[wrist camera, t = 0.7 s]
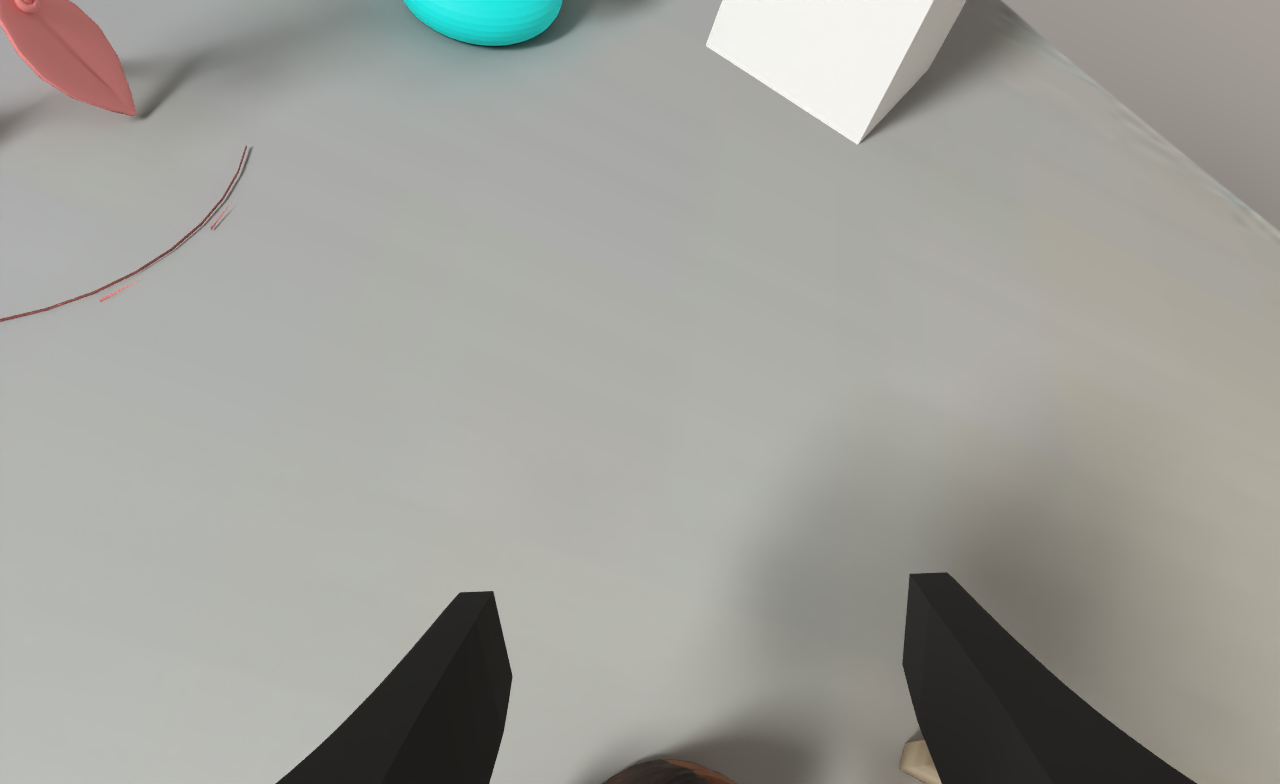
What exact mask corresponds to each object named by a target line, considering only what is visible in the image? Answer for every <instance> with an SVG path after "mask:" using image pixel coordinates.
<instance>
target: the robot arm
mask: <svg viewBox="0 0 1280 784" xmlns="http://www.w3.org/2000/svg"><path fill="white" fill-rule="evenodd" d="M903 668H904V672H905V676H906V680H907V684H908V688H909V692H910V696H911V699H912V703H913V706H914V710H915V714H916V717H917V721H918V724H919V727H920V729H921V732H922V734H923V737H924V740H925V742H926V745H927V747H928V750H929V752H930V755H931V758H932V760H933V763H934V765H935V768H936V770H937V773H938V775H939V778H940V780H941V783H942V784H1197V783H1195V782H1194V781H1192V780H1191V779H1189V778H1188V777H1186V776H1185V775H1183V774H1182V773H1180V772H1179V771H1177V770H1176V769H1174V768H1173V767H1171V766H1170V765H1169V764H1167V763H1166V762H1164V761H1163V760H1161V759H1160V758H1159V757H1157V756H1156V755H1154V754H1153V753H1152V752H1150V751H1149V750H1148V749H1146V748H1145V747H1143V746H1142V745H1141V744H1139V743H1138V742H1137V741H1135V740H1134V739H1133V738H1131V737H1130V736H1128V735H1127V734H1126V733H1124V732H1123V731H1122V730H1120V729H1119V728H1118V727H1116V726H1115V725H1114V724H1112V723H1111V722H1110V721H1109V720H1107V719H1106V718H1105V717H1103V716H1102V715H1101V714H1100V713H1098V712H1097V711H1096V710H1095V709H1093V708H1092V707H1091V706H1090V705H1089V704H1087V703H1086V702H1085V701H1084V700H1083V699H1081V698H1080V697H1079V696H1078V695H1077V694H1075V693H1074V692H1073V691H1072V690H1071V689H1069V688H1068V687H1067V686H1066V685H1065V684H1064V683H1063V682H1061V681H1060V680H1059V679H1058V678H1057V677H1056V676H1055V675H1053V674H1052V673H1051V672H1050V671H1049V670H1048V669H1047V668H1046V667H1045V666H1043V665H1042V664H1041V663H1040V662H1039V661H1038V660H1037V659H1036V658H1035V657H1034V656H1033V655H1031V654H1030V653H1029V652H1028V651H1027V650H1026V649H1025V648H1024V647H1023V646H1022V645H1021V644H1019V643H1018V642H1017V641H1016V640H1015V639H1014V638H1013V637H1012V636H1011V635H1010V634H1009V633H1008V632H1007V631H1006V630H1005V629H1004V628H1003V627H1002V626H1001V625H1000V624H999V623H998V622H997V621H996V620H995V619H994V618H993V617H992V616H991V615H990V614H989V613H988V612H987V611H986V610H984V609H983V608H982V607H981V606H980V605H979V604H978V603H977V601H976V600H975V599H974V598H973V597H972V596H971V595H970V594H969V593H968V592H967V591H966V590H965V589H964V588H963V587H962V586H961V585H960V584H959V583H958V582H957V581H956V580H955V579H954V578H953V577H951V576H950V575H949V574H948V573H947V572H946V573H922V574H910V578H909V590H908V602H907V615H906V627H905V639H904V652H903ZM511 683H512V672H511V668H510V664H509V659H508V655H507V650H506V646H505V641H504V637H503V632H502V628H501V624H500V619H499V615H498V610H497V606H496V601H495V597H494V592H493V591H486V592H461V593H459V594H458V595H457V596H456V597H455V598H454V600H453V601H452V602H451V603H450V604H449V605H448V606H447V608H446V609H445V610H444V611H443V612H442V613H441V615H440V616H439V617H438V618H437V619H436V621H435V622H434V623H433V624H432V625H431V627H430V628H429V629H428V630H427V631H426V633H425V634H424V635H423V636H422V637H421V638H420V640H419V641H418V642H417V643H416V644H415V645H414V647H413V648H412V649H411V650H410V651H409V652H408V654H407V655H406V656H405V657H404V658H403V659H402V660H401V661H400V663H399V664H398V665H397V666H396V667H395V668H394V669H393V670H392V672H391V673H390V674H389V675H388V676H387V677H386V678H385V679H384V681H383V682H382V683H381V684H380V685H379V686H378V687H377V688H376V689H375V690H374V691H373V692H372V694H371V695H370V696H369V697H368V698H367V699H366V700H365V701H364V702H363V703H362V704H361V705H360V706H359V707H358V708H357V709H356V710H355V711H354V712H353V713H352V714H351V715H350V716H349V717H348V718H347V719H346V720H345V721H344V722H343V723H342V724H341V725H340V726H339V727H338V728H337V729H336V730H335V731H334V732H333V733H332V734H331V735H330V736H329V737H328V738H327V739H326V740H325V741H324V742H323V743H322V744H321V745H320V746H319V747H317V748H316V749H315V750H314V751H313V752H312V753H311V754H310V755H308V756H307V757H306V758H305V759H304V760H303V761H302V762H301V763H299V764H298V765H297V766H296V767H295V768H294V769H293V770H291V771H290V772H289V773H288V774H287V775H286V776H284V777H283V778H282V779H281V780H280V781H278V782H277V783H276V784H489V782H490V779H491V775H492V772H493V768H494V765H495V761H496V758H497V754H498V751H499V747H500V743H501V740H502V736H503V732H504V726H505V721H506V715H507V709H508V703H509V696H510V689H511Z"/></svg>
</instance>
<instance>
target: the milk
mask: <svg viewBox="0 0 1280 784" xmlns="http://www.w3.org/2000/svg"><path fill="white" fill-rule="evenodd" d="M966 1H967V0H723V1H722V3H721V6H720V9H719V11H718V14H717V17H716V20H715V22H714V25H713V28H712V30H711V33H710V36H709V38H708V41H707V44H706V46H707V47H709V48H710V49H712V50H713V51H715V52H716V53H718V54H719V55H721V56H722V57H724V58H725V59H727V60H729V61H730V62H732V63H733V64H735V65H736V66H738V67H739V68H741V69H742V70H744V71H745V72H747V73H748V74H750V75H752V76H753V77H755V78H756V79H758V80H759V81H761V82H762V83H764V84H765V85H767V86H768V87H770V88H771V89H773V90H775V91H776V92H778V93H779V94H781V95H782V96H784V97H785V98H787V99H788V100H790V101H791V102H793V103H794V104H796V105H798V106H799V107H801V108H802V109H804V110H805V111H807V112H808V113H810V114H811V115H813V116H814V117H816V118H817V119H819V120H821V121H822V122H824V123H825V124H827V125H828V126H830V127H831V128H833V129H834V130H836V131H837V132H839V133H840V134H842V135H844V136H845V137H847V138H848V139H850V140H851V141H853V142H854V143H856V144H857V145H858V144H859V143H860V142H861V141H862V140H863V139H864V138H865V137H866V136H867V135H868V134H869V133H870V132H871V130H872V129H873V128H874V127H875V126H876V125H877V124H878V123H879V122H880V121H881V120H882V119H883V118H884V117H885V115H886V114H887V113H888V112H889V111H890V110H891V109H892V108H893V107H894V106H895V105H896V104H897V103H898V102H899V100H900V99H901V98H902V97H903V96H904V95H905V94H906V93H907V92H908V91H909V90H910V89H911V88H912V87H913V85H914V84H915V83H916V82H917V81H918V80H919V79H920V78H921V77H922V76H923V75H924V74H925V73H926V72H927V70H928V69H929V68H930V66H931V64H932V62H933V61H934V59H935V57H936V55H937V53H938V51H939V50H940V48H941V46H942V44H943V42H944V41H945V39H946V37H947V35H948V33H949V32H950V30H951V28H952V26H953V24H954V22H955V21H956V19H957V17H958V15H959V13H960V12H961V10H962V8H963V6H964V4H965V2H966Z"/></svg>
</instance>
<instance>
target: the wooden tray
mask: <svg viewBox="0 0 1280 784" xmlns="http://www.w3.org/2000/svg"><path fill="white" fill-rule="evenodd" d="M899 769H901V770H903V771H904V772H906V773H908V774H910V775H912V776H913V777H915V778H917V779H919V780H920V781H922V782H924V783H926V784H942V783H941V780H940V778H939V775H938V773H937V770H936V768H935V765H934V763H933V760H932V758H931V755H930V752H929V750H928V747H927V745H926V742H925V740H920V741H914V742H908V743H905V747H904V751H903V755H902V759H901V763H900V767H899Z"/></svg>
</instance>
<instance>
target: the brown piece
mask: <svg viewBox="0 0 1280 784" xmlns="http://www.w3.org/2000/svg"><path fill="white" fill-rule="evenodd" d="M603 784H736V783H735V782H734V781H732V780H730V779H729V778H728V777H726V776H724V775H722V774H720V773H718V772H715V771H710V770H708V769H706V768H704V767H702V766H699V765H697V764H694V763H690V762H686V761H680V760H655V761H650V762H646V763H643V764H639V765H634V766H632V767H630V768H628V769H626V770H624V771H622V772H621V773H619V774H617V775H615V776H613V777H611V778H610V779H608V780H607V781H606V782H604V783H603Z"/></svg>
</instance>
